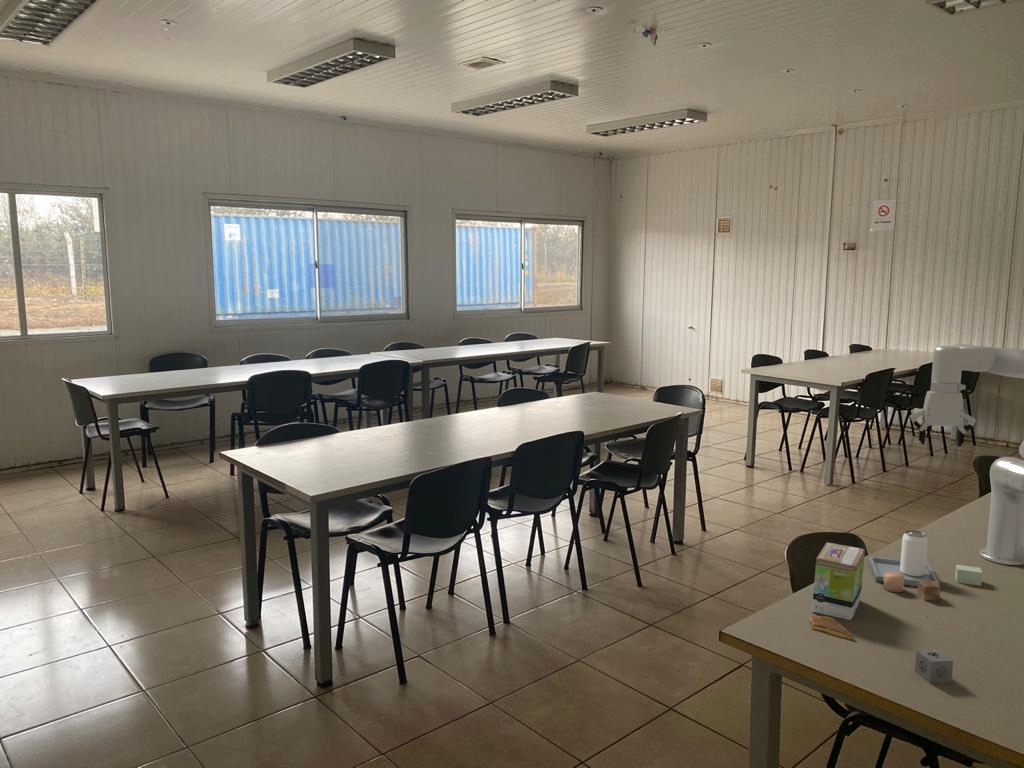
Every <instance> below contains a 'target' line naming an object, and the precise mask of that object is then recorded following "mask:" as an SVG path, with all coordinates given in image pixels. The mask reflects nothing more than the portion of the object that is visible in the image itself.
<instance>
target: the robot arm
mask: <svg viewBox="0 0 1024 768" xmlns="http://www.w3.org/2000/svg"><path fill="white" fill-rule="evenodd" d="M932 357H933V358H932V368H931V378H930V379H931V381H930V390H928V391H926V394H925V398H924V403H923V407H922V410H920V411H917V412H914V413H912V414H910V415H909V418H910V420H911V421H912V424H913V425H914V426H915V427H916V428H917V429H918V442H920V444H921V445H925V444H926V434H927V433H926V431H925V430H926V429H927V428H928V427H929V426H933V427H948V428H949V427H950V428H957V430H958V431H957V433H956V440H955V441H956V442H955V444H956V446H957V447H959V448H961V447H962V445H964V441H965V434H966V433H967V432H968V431H969V430H971V429H972V428H973V426H974V425H975V423H976V422H977V419H975V417H973V416H971V415H969V414H967V413H966V412H964V399H963V393H962V392H961V391H963V390H966V388H967V387H966V384H962V383H961V380H962V371H968V372H975V373H978V372H979V373H980V372H986V373H990V374H994V375H999V376H1002V377H1008V378H1016V379H1024V349H1021V348H1013V347H1012V348H1011V347H993V346H992V347H991V346H981V345H974V344H973V345H972V344H967V343H966V344H965V343H955V344H952V345H938V346H936V347H935V348H933V355H932ZM920 417H921V418H922V422H921V423H920V422H918V420H917V419H918V418H920ZM964 419H966V420H968V422H967V423H966V424H965V425H964V426H963V423H964ZM1018 453H1019V455H1020V456H1021V458H1023V459H1024V440H1023V441H1022V442H1021V443H1020V445H1019V448H1018ZM1023 459H1020V458H1017V457H1014V456H1003V457H999V458H996V459H995V460H994V461H993V463H991V465H990V469H989V479H990V481H989V482H990V489H991V492H990V493H991V495H990V505H989V506H990V508H989V517H988V518H989V519H988V527H987V536H986V537H987V539H986V546H985V547H984V548H981V549H980V550H979V554H980V556H981V557H982V558H984V559H985V560H988V561H990V562H994V563H997V564H1001V565H1006V566H1007V565H1008V566H1024V460H1023Z"/></svg>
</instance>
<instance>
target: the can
mask: <svg viewBox="0 0 1024 768" xmlns="http://www.w3.org/2000/svg"><path fill="white" fill-rule="evenodd" d="M928 543H929V542H928V537H927V533H926V532H923V531H921V530H916V529H914V530H913V529H908V530H905V531H904V534H903V535H902V540H901V551H900V552H901V553H900V560H901V563H900V571H901V572H902V573H903V574H905V575H908V576H913V577H922V576H923V575H925V568H926V563H927V553H928Z"/></svg>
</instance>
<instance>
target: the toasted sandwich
mask: <svg viewBox="0 0 1024 768" xmlns="http://www.w3.org/2000/svg"><path fill="white" fill-rule="evenodd" d="M808 620H809V622H811V630H816V631H819V632H820V631H821V632H823V633H827V634H829V635H832V636H836V637H839V636H840V637H839V638H842V637H845V638H844V639H846V638H848V639H847V640H850V639H852V640H851V641H854V639H855V636H854V635H853V634H852V633H851V632H850V631H849V630H847V628H846V627H845V626H844V625H843V624H842V623H841V622H840V621H839V620H838V619H836V617H832V616H828V615H824V616H823V615H821V616H816V615H815V616H812V615H811V616H808Z"/></svg>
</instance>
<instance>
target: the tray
mask: <svg viewBox="0 0 1024 768" xmlns="http://www.w3.org/2000/svg"><path fill="white" fill-rule="evenodd" d="M900 563H901V559H896V558H886V557H877V556H868V564H869V567H870V569H871V572H872V575H873V577H874V580H875V583H883V584H884V573H885V572H897V573H901V574H903V573H902V572H901V571H900ZM903 575H904V586H906V585H910V586H909V587H915V586H917V588H918V581H934V582H935V583H936V584H938V585H939V586H940V585H941V584H940V581H939V580H938V577H937V575H936V574H935V572H934V571H933V568H932V567H931V565H930V564H929V562H926V568H925V575H923V576H922V577H913V576H908V575H905V574H903ZM940 587H941V586H940Z"/></svg>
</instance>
